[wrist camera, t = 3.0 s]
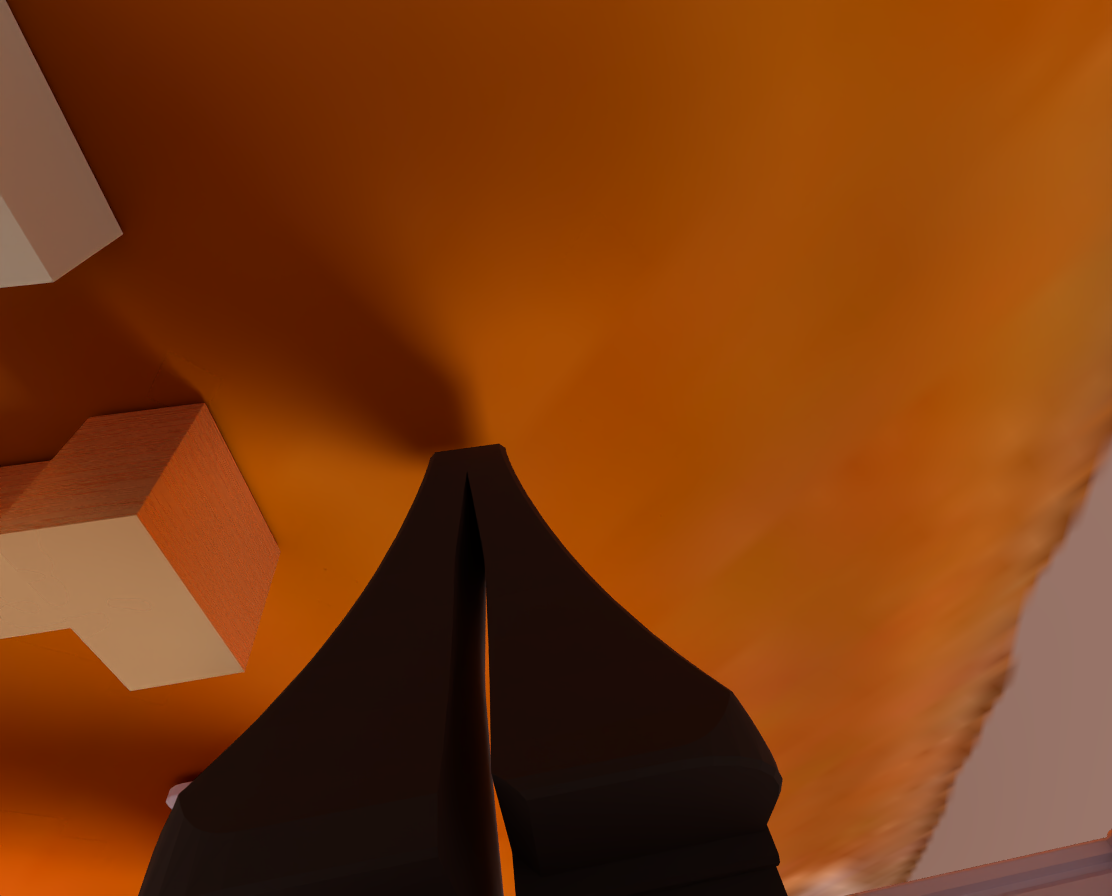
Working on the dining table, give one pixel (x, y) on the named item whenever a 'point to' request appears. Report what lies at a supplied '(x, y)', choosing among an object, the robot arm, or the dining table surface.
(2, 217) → the pad
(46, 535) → the block
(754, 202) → the dining table surface
